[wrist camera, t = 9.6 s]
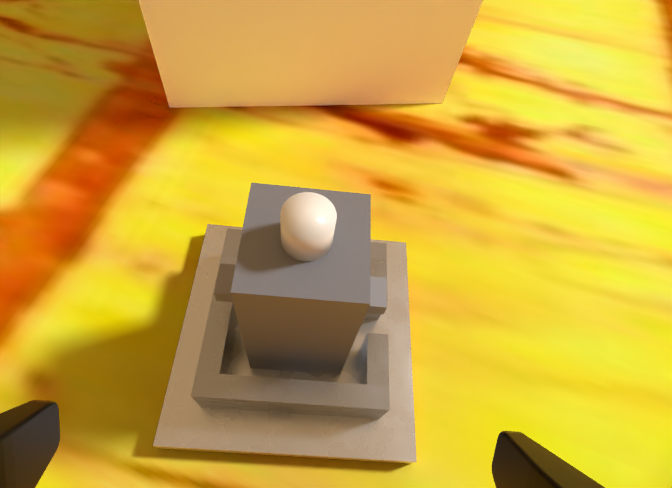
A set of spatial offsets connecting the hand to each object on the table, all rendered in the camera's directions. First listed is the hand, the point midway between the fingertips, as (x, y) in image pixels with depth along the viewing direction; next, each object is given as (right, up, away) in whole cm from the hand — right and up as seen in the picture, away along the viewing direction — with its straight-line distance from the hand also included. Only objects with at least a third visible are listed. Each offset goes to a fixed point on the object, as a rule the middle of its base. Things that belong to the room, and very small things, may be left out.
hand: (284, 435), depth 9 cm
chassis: (-1, -1, +15) cm, 15 cm away
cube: (-3, +25, +31) cm, 40 cm away
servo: (-1, -1, +14) cm, 14 cm away
